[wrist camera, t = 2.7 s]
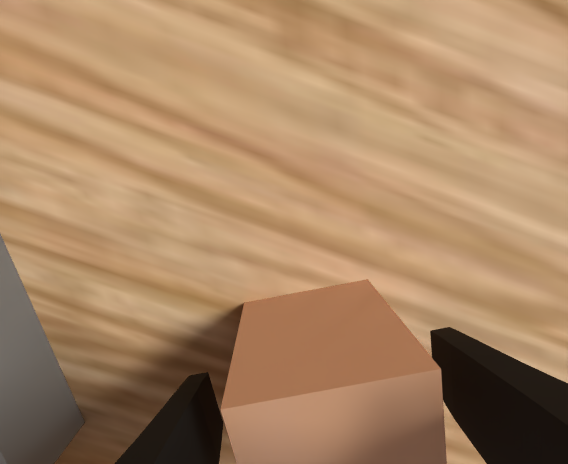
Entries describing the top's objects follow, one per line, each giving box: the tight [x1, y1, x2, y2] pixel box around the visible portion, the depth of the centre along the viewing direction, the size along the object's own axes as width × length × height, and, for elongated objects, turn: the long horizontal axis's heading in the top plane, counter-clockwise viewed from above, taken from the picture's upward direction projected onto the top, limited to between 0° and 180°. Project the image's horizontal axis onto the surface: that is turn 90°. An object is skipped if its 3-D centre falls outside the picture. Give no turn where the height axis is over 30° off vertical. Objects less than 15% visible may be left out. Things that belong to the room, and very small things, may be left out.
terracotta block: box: [220, 279, 447, 464], centre depth 8 cm, size 4×4×4 cm
